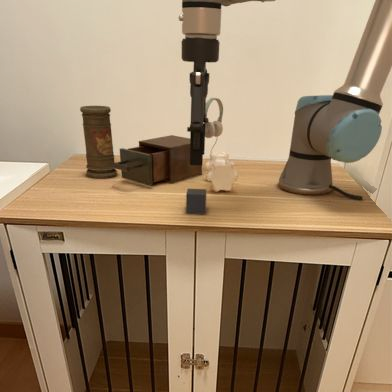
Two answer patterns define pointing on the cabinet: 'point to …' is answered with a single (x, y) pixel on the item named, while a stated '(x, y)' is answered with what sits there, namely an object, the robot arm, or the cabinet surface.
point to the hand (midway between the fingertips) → (197, 159)
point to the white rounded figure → (220, 171)
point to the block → (196, 201)
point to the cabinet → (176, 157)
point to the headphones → (216, 126)
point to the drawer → (143, 164)
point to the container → (98, 141)
